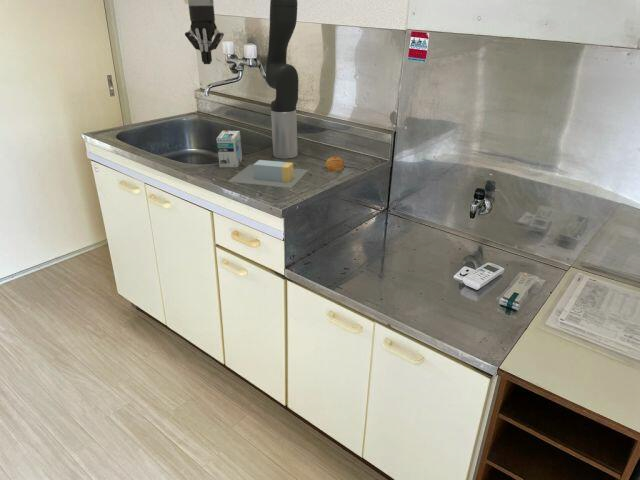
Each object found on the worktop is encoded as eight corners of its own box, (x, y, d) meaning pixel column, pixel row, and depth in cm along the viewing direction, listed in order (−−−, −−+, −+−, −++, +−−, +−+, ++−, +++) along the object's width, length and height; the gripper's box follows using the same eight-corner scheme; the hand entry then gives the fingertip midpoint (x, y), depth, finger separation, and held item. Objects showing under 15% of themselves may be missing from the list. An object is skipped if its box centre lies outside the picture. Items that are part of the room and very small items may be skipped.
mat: (250, 165, 172) (250, 164, 172) (308, 171, 167) (308, 169, 167) (227, 182, 157) (227, 181, 157) (291, 189, 151) (291, 187, 151)
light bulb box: (237, 168, 170) (235, 138, 165) (218, 168, 171) (215, 138, 166) (242, 158, 180) (240, 130, 175) (224, 158, 180) (222, 130, 175)
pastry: (345, 174, 164) (345, 163, 163) (325, 174, 164) (325, 164, 162) (343, 165, 173) (343, 155, 171) (324, 166, 173) (324, 155, 171)
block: (259, 159, 161) (293, 162, 158) (260, 174, 163) (293, 177, 160) (253, 164, 156) (287, 167, 153) (254, 178, 159) (288, 182, 156)
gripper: (175, 4, 145) (183, 64, 153) (214, 4, 142) (220, 66, 150) (188, 3, 151) (194, 61, 159) (226, 3, 148) (231, 63, 156)
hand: (207, 63), depth 155 cm, fingers closed
